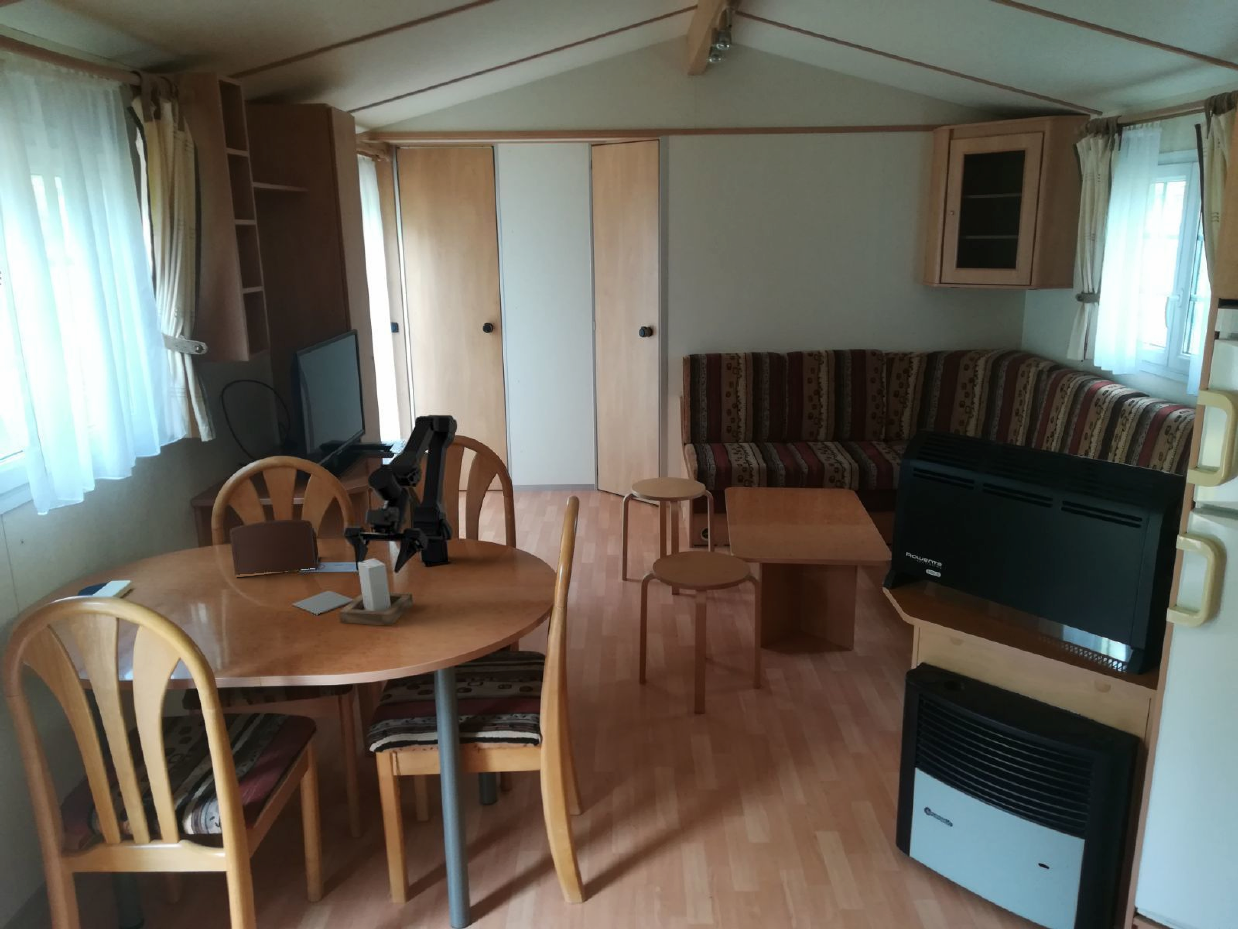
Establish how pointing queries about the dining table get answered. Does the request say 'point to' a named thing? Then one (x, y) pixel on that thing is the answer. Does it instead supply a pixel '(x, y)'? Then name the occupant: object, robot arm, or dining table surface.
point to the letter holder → (274, 546)
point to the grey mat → (323, 602)
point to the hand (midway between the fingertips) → (376, 571)
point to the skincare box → (374, 585)
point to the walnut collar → (388, 617)
